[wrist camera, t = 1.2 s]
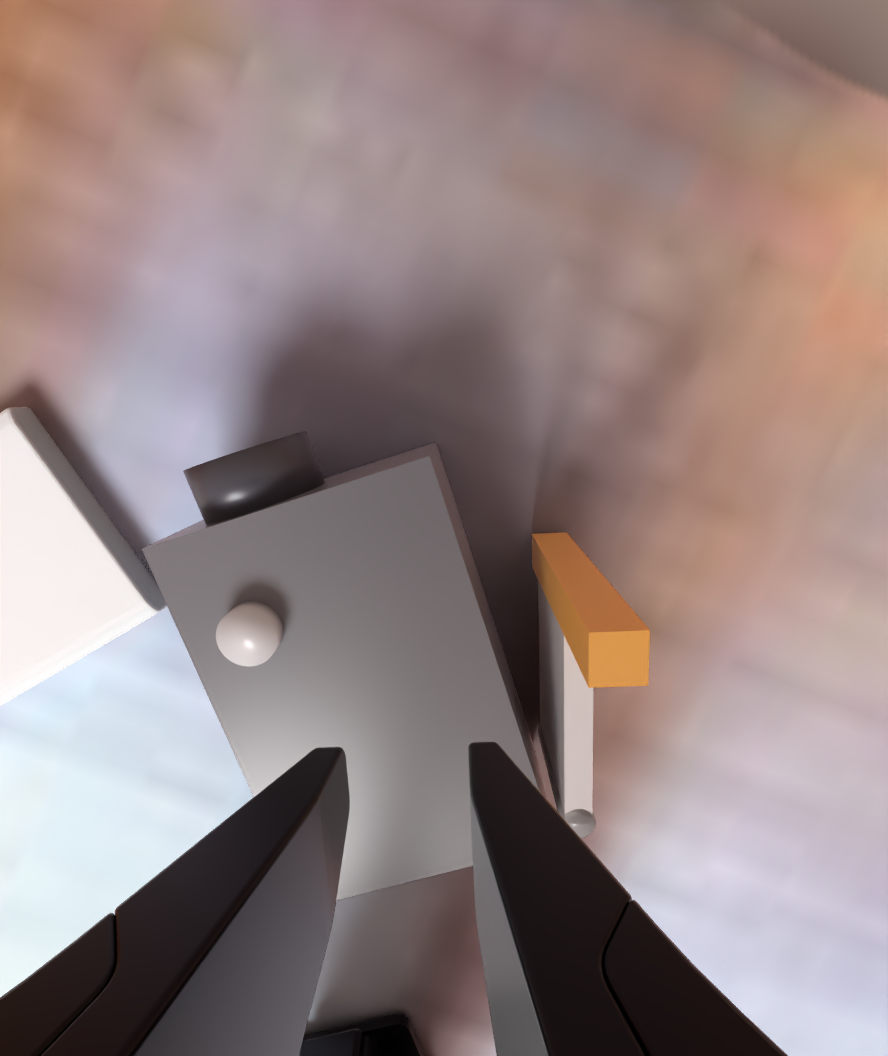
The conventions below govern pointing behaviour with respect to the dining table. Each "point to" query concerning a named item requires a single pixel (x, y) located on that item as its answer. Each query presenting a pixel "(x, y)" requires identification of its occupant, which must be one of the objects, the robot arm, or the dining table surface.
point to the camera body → (347, 642)
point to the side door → (579, 665)
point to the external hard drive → (58, 562)
